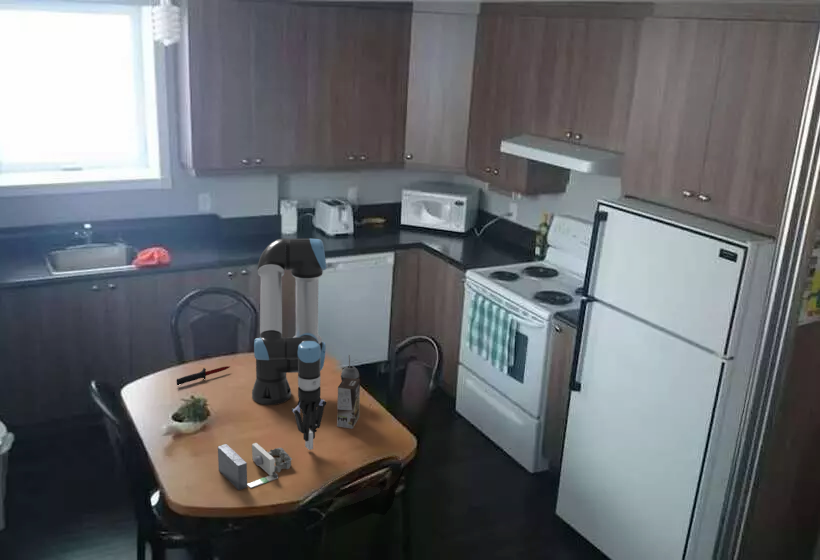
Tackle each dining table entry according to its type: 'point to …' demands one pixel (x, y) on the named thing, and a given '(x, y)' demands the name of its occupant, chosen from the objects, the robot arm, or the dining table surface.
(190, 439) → the dining table surface
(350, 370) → the beverage cup
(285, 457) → the egg carton
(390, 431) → the dining table surface
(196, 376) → the knife
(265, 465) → the spring plate
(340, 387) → the coffee box
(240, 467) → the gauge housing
